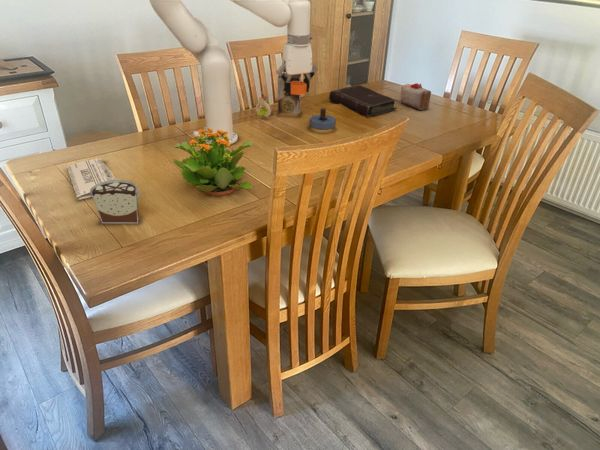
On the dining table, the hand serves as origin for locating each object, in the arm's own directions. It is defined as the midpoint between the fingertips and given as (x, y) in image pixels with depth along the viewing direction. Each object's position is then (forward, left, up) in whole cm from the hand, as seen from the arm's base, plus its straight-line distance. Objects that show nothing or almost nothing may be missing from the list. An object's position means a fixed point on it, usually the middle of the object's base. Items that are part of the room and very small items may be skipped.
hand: (296, 91), depth 169 cm
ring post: (+12, +2, -16) cm, 21 cm away
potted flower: (-40, -31, -17) cm, 53 cm away
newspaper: (-73, -10, -17) cm, 75 cm away
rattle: (-3, +22, -17) cm, 28 cm away
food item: (+64, +12, -17) cm, 67 cm away
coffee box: (+7, +22, -17) cm, 28 cm away
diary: (+42, +20, -17) cm, 50 cm away
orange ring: (0, 0, 0) cm, 0 cm away
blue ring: (+12, +2, -15) cm, 19 cm away
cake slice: (-68, -36, -17) cm, 79 cm away
